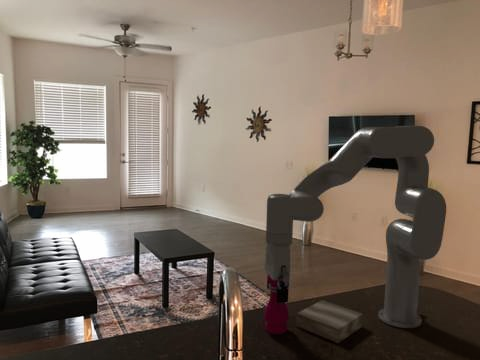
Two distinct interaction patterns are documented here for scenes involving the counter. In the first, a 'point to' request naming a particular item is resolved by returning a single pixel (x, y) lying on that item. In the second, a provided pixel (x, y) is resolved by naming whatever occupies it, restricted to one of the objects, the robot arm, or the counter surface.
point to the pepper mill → (275, 311)
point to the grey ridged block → (329, 320)
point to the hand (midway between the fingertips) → (277, 295)
